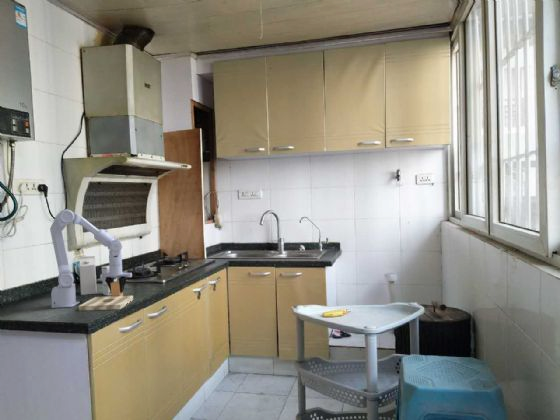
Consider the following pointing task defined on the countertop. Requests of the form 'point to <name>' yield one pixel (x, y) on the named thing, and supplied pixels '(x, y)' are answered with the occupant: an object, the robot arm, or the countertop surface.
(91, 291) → the milk carton
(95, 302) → the holder plate
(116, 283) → the orange rectangular block
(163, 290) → the countertop surface
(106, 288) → the syrup box
